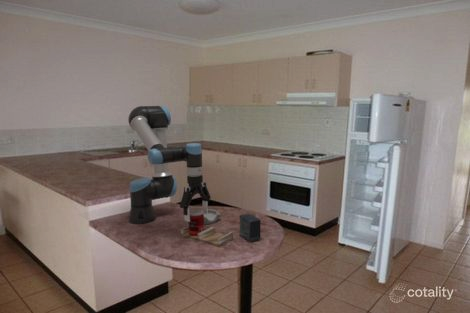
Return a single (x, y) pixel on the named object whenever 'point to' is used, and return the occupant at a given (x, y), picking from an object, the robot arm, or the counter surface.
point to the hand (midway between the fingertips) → (196, 217)
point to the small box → (250, 227)
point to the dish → (211, 216)
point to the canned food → (196, 222)
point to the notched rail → (208, 236)
